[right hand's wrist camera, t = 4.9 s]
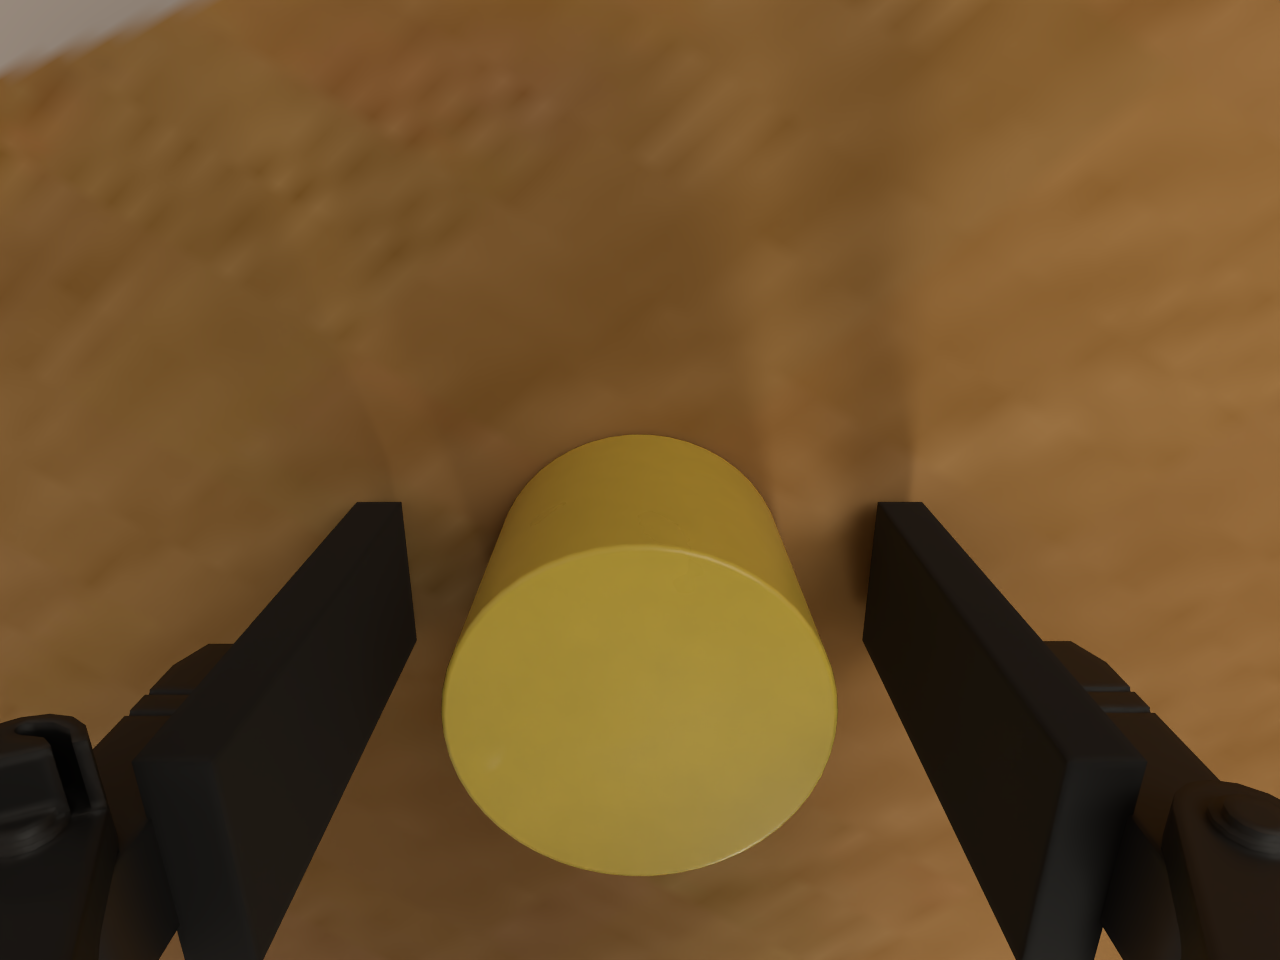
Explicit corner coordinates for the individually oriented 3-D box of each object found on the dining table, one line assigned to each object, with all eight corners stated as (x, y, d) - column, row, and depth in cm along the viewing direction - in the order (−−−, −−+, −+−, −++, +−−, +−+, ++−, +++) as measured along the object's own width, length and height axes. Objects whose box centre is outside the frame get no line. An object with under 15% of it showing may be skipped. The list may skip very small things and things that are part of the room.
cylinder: (479, 443, 14) (408, 559, 9) (780, 423, 13) (843, 532, 9) (515, 696, 15) (469, 889, 11) (781, 680, 15) (836, 869, 11)
